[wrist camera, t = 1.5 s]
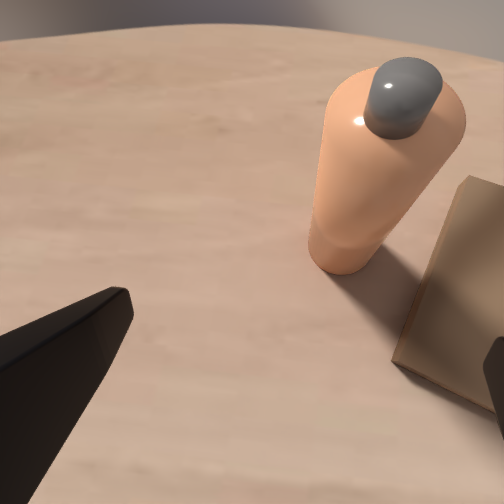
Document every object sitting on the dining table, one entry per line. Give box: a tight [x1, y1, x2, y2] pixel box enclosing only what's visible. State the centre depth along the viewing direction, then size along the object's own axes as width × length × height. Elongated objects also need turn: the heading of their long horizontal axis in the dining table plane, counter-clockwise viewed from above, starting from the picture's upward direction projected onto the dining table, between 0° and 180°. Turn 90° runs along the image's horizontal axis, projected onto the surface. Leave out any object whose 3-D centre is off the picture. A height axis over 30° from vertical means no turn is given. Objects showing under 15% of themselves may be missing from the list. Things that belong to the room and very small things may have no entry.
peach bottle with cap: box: [308, 57, 466, 275], centre depth 16 cm, size 5×5×14 cm
